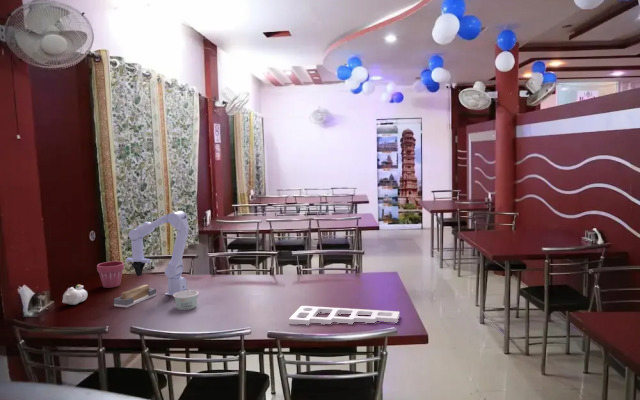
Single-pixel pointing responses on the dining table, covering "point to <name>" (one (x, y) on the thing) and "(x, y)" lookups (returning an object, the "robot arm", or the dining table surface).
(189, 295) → the food container
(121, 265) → the plant pot
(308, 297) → the dining table surface
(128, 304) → the cradle
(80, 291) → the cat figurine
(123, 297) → the oak slat
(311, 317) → the holder
